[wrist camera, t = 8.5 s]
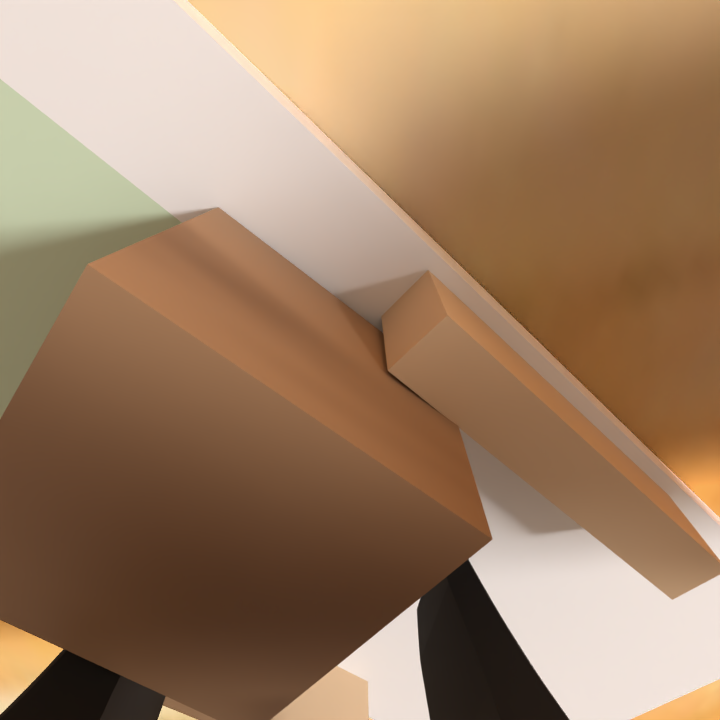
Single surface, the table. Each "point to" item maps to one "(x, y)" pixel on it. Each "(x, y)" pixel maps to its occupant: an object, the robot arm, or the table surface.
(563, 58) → the table surface
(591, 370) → the table surface
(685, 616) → the deck
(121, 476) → the walnut block
